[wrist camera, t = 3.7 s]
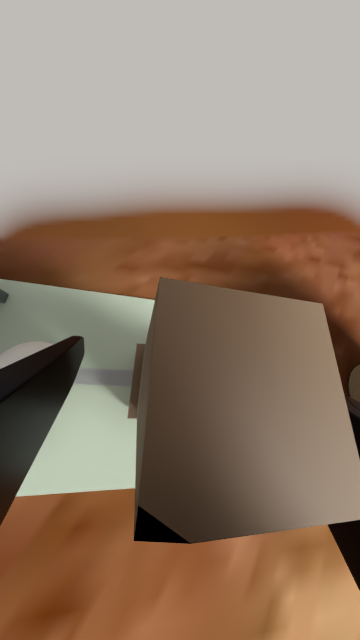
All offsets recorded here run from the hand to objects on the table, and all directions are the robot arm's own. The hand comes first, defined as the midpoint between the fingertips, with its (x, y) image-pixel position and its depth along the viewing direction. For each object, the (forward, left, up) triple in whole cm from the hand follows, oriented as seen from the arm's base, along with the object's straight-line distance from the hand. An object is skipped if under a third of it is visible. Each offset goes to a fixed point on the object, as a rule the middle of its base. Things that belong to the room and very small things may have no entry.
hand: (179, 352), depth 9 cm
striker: (-1, +1, -6) cm, 7 cm away
